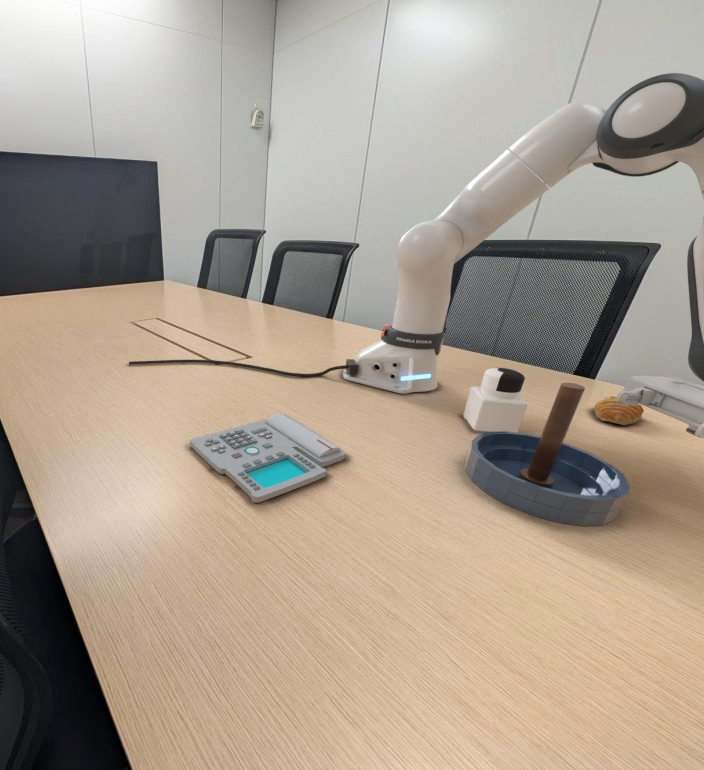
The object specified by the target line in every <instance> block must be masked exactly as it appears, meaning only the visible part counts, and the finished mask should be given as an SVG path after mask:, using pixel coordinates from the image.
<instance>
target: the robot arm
mask: <svg viewBox="0 0 704 770" xmlns="http://www.w3.org/2000/svg"><path fill="white" fill-rule="evenodd" d="M678 163H683V164H685V165H686V166H688V167H689V168H691V170H692V171H693V173H694V174H695V177H696V179H697V181H698V185H699V190H700V192H701V197H702V199H703V201H704V79H702V78H699V77H698V76H695V75H692V74H687V73H680V72H669V73H663V74H662V73H661V74H659V75H654V76H651V77H648V78H646V79H644V80H642V81H640V82H638V83H636V84H635V85H632V87H630V88H629V89H627V90H626V91H624V92H623V93H621V94H620V95H619V96H618V97H617V98H616V99H615V100H613V102H612V103H611V105H610V106H609V107H608V108H607V109H606V108H604V107H602V106H601V105H599V104H597V103H595V102H593V101H588V100H577V101H572V102H569V103H567V104H565V105H563V106H562V107H560V108H559V109H557V110H555V111H554V112H553V113H551V114H550V115H548V116H547V117H546V118H544V119H543V120H542V121H540V122H539V123H537V124H536V125H535V126H533V127H532V128H530V129H529V130H528V131H527V132H526V133H524V134H523V135H522V136H521V137H519V138H518V139H517V140H515V142H514V143H513V144H511V145H510V146H509V147H508V148H507V149H506V150H504V151H503V152H502V153H501V154H500V155H498V157H496V158H495V159H494V160H493V161H492V162H491V163H489V165H488V166H486V167H485V168H484V169H483V170H482V171H480V173H479V174H478V175H476V176H475V177H474V178H473V179H472V180H471V181H470V182H468V183H467V184H466V186H465V187H464V188H463V189H462V191H461V192H460V193H459V194H458V195H457V196H456V197H455V198H454V199H453V200H452V201H451V202H450V203H449V205H448V206H446V208H444V210H442V211H441V212H440V214H439V215H438V216H437V217H435V218H434V219H432V220H425V221H422V222H419V223H417V224H415V225H413V226H412V227H411V228H410V229H408V230H407V231H406V232H405V234H404V235H403V236H401V239H400V240H399V242H398V244H397V247H396V257H397V294H396V301H395V306H394V313H393V319H392V324H390V323H386V324H384V326H383V327H382V330H381V335H380V339H379V340H378V341H376V342H374V343H371V344H370V345H368V346H366V347H364V348H362V349H361V350H359V352H358V353H357V354H356V356H355V358H354V359H353V358H346V359H345V365H344V364H343V365H337V366H336V365H335V366H332V367H329V368H327V369H324V370H323V371H319V372H314V373H299V372H289V371H284V370H279V369H275V368H270V367H264V366H258V365H253V364H248V363H241V362H234V361H227V360H226V361H225V360H217V359H216V360H214V359H160V360H133V361H128V365H150V364H172V363H174V364H175V363H176V364H177V363H178V364H179V363H198V364H199V363H200V364H201V363H202V364H218V365H229V366H235V367H241V368H248V369H254V370H259V371H264V372H269V373H275V374H279V375H284V376H289V377H297V378H299V377H300V378H314V377H321V376H324V375H327V374H328V373H330V372H332V371H337V370H343V373H342V377H343V379H344V380H346V381H349V382H353V383H356V384H357V383H358V384H361V385H365V386H369V387H373V388H377V389H381V390H385V391H390V392H393V393H398V394H400V395H401V394H403V395H405V394H410V393H423V392H430V391H433V390H436V389H437V388H438V378H437V377H438V376H437V375H438V374H437V373H438V371H437V370H438V357H439V355H440V353H441V352H442V347H443V344H444V338H445V331H444V328H445V323H446V319H447V316H448V315H447V314H448V311H449V306H450V301H451V289H452V279H453V271H454V264H456V263H457V262H458V261H461V259H463V258H464V257H465V256H466V255H468V254H469V253H470V252H471V251H473V250H474V249H475V248H476V247H478V246H479V245H480V244H482V242H484V241H485V240H487V238H489V237H490V236H491V235H492V234H494V233H495V232H496V231H497V230H498V229H499V228H501V227H502V226H503V225H505V223H507V222H508V221H509V220H511V219H512V218H513V217H515V216H516V215H517V214H518V213H520V212H522V211H523V210H524V209H525V208H526V207H528V206H529V205H531V204H532V203H534V202H535V201H536V200H537V199H539V198H540V197H541V196H543V194H545V193H546V192H548V191H550V189H551V188H553V187H554V186H555V185H557V184H558V183H560V182H561V181H562V180H564V178H566V177H567V176H568V175H570V174H572V173H573V172H575V171H576V170H577V169H580V168H581V167H584V166H585V165H586V166H587V165H590V164H592V165H593V166H594V167H595V168H597V169H602V170H605V171H609V172H612V173H614V174H617V175H620V176H624V177H633V178H634V177H635V178H636V177H646V176H652V175H655V174H659V173H661V172H663V171H665V170H668V169H670V168H671V167H673V166H675V165H677V164H678ZM686 260H687V261H686V266H687V267H686V268H687V285H688V286H687V287H688V298H689V299H688V300H689V311H690V312H689V313H690V322H691V323H690V324H691V338H690V343H689V348H688V354H687V363H688V367H689V369H690V370H691V372H692V373H693V374H694V375H695V376H696V377H697V378H698V379H699V380H700V381H701V382H704V216H702V222H701V226H700V229H699V231H698V234H697V235H696V236H695V237H694V238H693V239H692V240H691V242H690V244H689V247H688V250H687V259H686ZM615 397H616V399H615V400H616V402H618V403H621V404H623V405H626V406H637V404H639V405H641V406H642V407H643V406H644V407H646V408H648V409H651V410H653V411H656V412H658V413H661V414H663V415H666V416H668V417H670V418H672V419H675V420H678V421H679V422H682V423H684V424H687V425H688V427H686V429H685V432H686V433H688V434H690V435H693V436H695V437H697V438H700V439H704V384H701V383H698V382H695V381H691V380H688V379H683V378H678V377H670V376H656V375H655V376H654V375H652V376H651V375H632V376H630V377H629V378H628V379H627V380H626V381H625V384H624V386H623V388H622V391H619V392H618V393H617V395H616V396H615Z"/></svg>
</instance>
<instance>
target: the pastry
mask: <svg viewBox="0 0 704 770" xmlns="http://www.w3.org/2000/svg"><path fill="white" fill-rule="evenodd" d="M616 397H617V396H613V395H611V396H609V397H604V398H603V399H601V400H599V401H598V402H596V403H595V404H594V413H595V416H596V418H597V419H600V420H601V421H603V422H609V423H614V424H618V425H621V426H627V425H633V424H636V423H637V421H639V420H641V419H642V415H643V414H644V412H645V410H644V407H643V405H641V404H637V406H626V405H623V404H621V403H618V402H616V400H615V399H616Z"/></svg>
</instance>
